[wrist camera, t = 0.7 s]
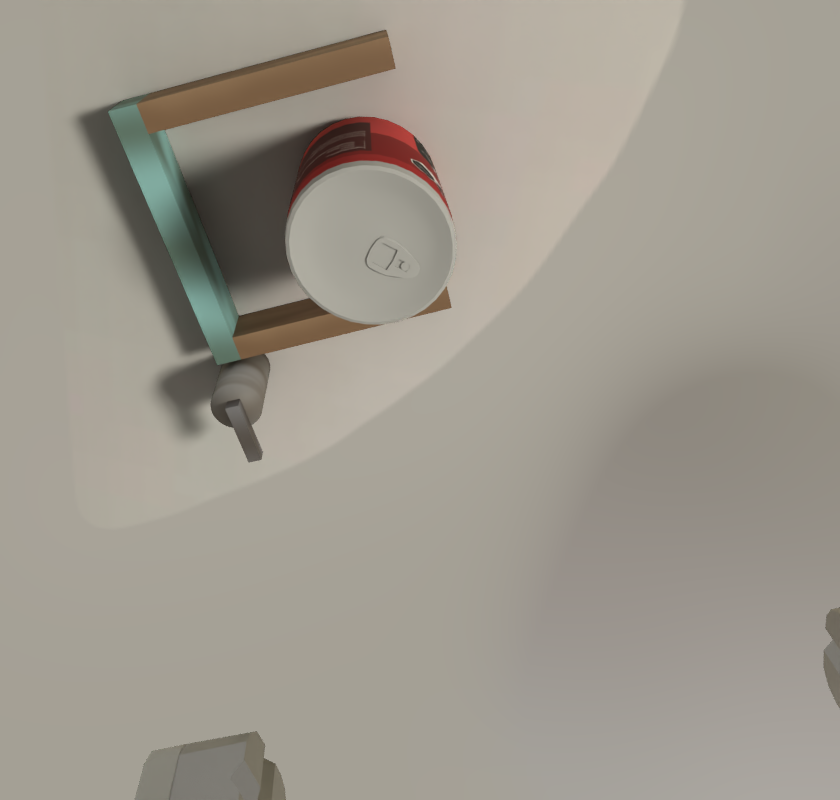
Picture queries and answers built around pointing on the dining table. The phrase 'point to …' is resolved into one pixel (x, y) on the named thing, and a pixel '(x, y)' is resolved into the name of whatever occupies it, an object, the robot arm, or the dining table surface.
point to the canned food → (369, 223)
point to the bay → (185, 236)
